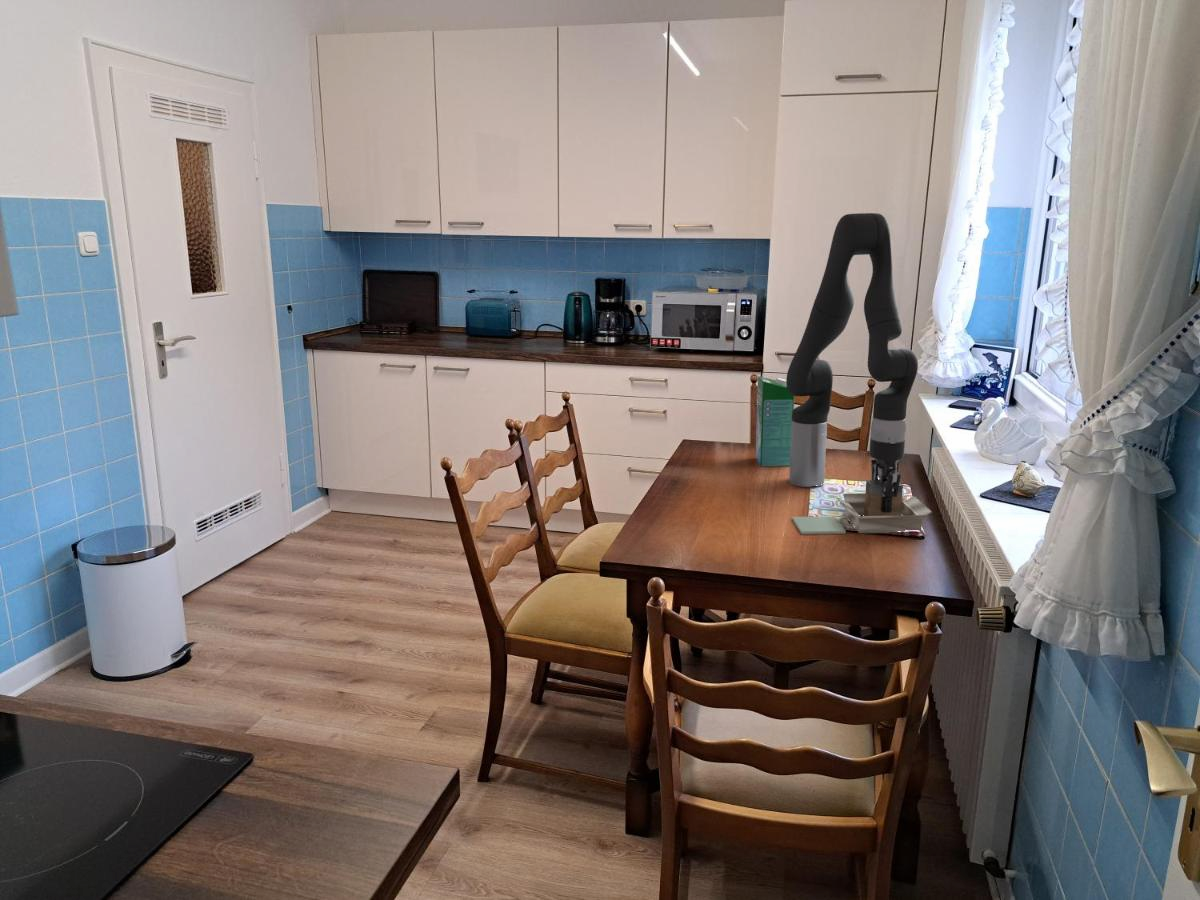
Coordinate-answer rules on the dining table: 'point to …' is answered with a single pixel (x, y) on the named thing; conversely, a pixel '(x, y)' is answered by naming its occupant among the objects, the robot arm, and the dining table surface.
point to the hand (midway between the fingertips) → (882, 508)
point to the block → (880, 500)
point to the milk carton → (773, 422)
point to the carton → (884, 524)
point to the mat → (818, 525)
